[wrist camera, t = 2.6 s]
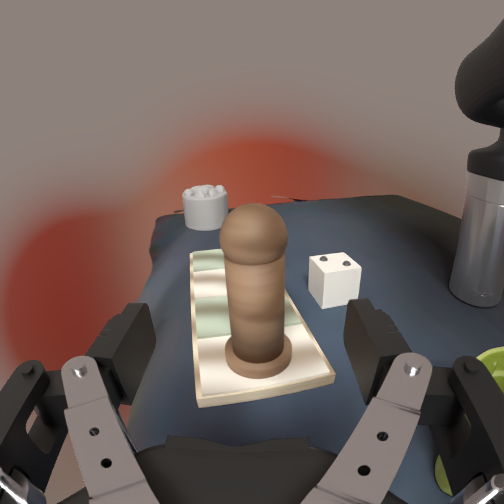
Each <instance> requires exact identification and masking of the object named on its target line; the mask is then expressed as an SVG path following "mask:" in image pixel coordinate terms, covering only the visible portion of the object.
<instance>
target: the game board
mask: <svg viewBox="0 0 504 504" xmlns="http://www.w3.org/2000/svg"><path fill="white" fill-rule="evenodd" d="M190 285H191V316H192V338H193V356H194V372H195V386H196V398H197V403H198V406H199V408H202V407H211V406H219V405H227V404H234V403H241V402H247V401H253V400H259V399H264V398H270V397H275V396H280V395H285V394H290V393H295V392H299V391H303V390H308V389H312V388H316V387H320V386H324V385H328V384H332V383H334V380H335V372H334V370H333V369H332V367H331V365H330V364H329V362H328V360H327V359H326V357H325V355H324V354H323V352H322V350H321V349H320V347H319V345H318V344H317V342H316V340H315V338H314V337H313V335H312V333H311V332H310V330H309V328H308V327H307V325H306V323H305V322H304V320H303V318H302V317H301V315H300V313H299V312H298V310H297V308H296V307H295V305H294V303H293V302H292V300H291V298H290V297H289V295H288V293H287V292H286V290H285V320H284V334H285V335H286V336H287V337H288V338H289V339H290V341H291V344H292V355H291V362H290V364H289V366H288V367H287V368H286V369H285V370H284V371H283V372H281V373H280V374H278V375H276V376H273V377H270V378H265V379H250V378H245V377H242V376H240V375H238V374H236V373H234V372H233V371H232V370H231V369H230V368H229V366H228V365H227V362H226V355H225V344H226V342H227V340H228V339H229V338H230V337H231V329H230V319H229V309H228V299H227V288H226V277H225V266H224V253H223V251H222V249H215V250H206V251H197V252H193V253H190Z"/></svg>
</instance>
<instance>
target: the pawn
mask: <svg viewBox="0 0 504 504" xmlns="http://www.w3.org/2000/svg"><path fill="white" fill-rule="evenodd" d="M287 240H288V235H287V229H286V225H285V223H284V221H283V219H282V218H281V216H280V215H279V214H278V213H277V212H276V211H275V210H273V209H272V208H270V207H268V206H266V205H263V204H258V203H249V204H245V205H241V206H239V207H237V208H235V209H234V210H232V211H231V212H230V213H229V214H228V215H227V217H226V218H225V220H224V221H223V223H222V226H221V229H220V245H221V249H222V251H223V253H224V266H225V277H226V288H227V299H228V309H229V319H230V329H231V337H230V338H229V339H228V340H227V342H226V344H225V355H226V362H227V365H228V366H229V368H230V369H231V370H232V371H233V372H234V373H236V374H238V375H240V376H242V377H245V378H250V379H265V378H270V377H273V376H276V375H278V374H280V373H281V372H283V371H284V370H285V369H286V368H287V367H288V366H289V364H290V362H291V355H292V344H291V341H290V339H289V338H288V337H287V336H286V335H285V334H284V320H285V249H286V246H287Z"/></svg>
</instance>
